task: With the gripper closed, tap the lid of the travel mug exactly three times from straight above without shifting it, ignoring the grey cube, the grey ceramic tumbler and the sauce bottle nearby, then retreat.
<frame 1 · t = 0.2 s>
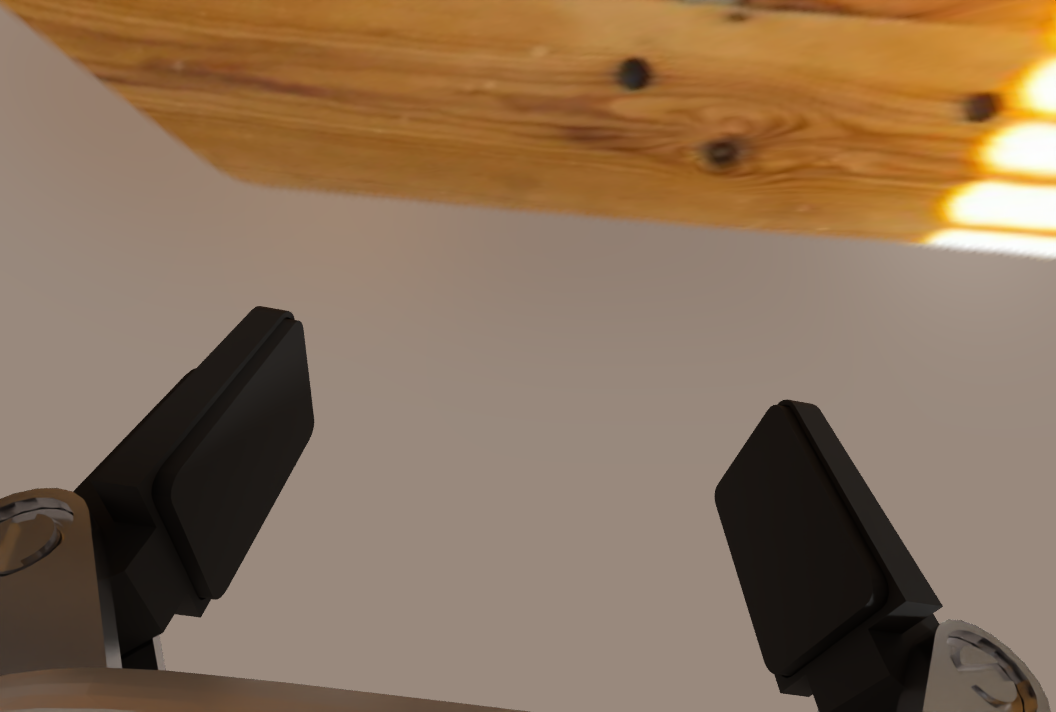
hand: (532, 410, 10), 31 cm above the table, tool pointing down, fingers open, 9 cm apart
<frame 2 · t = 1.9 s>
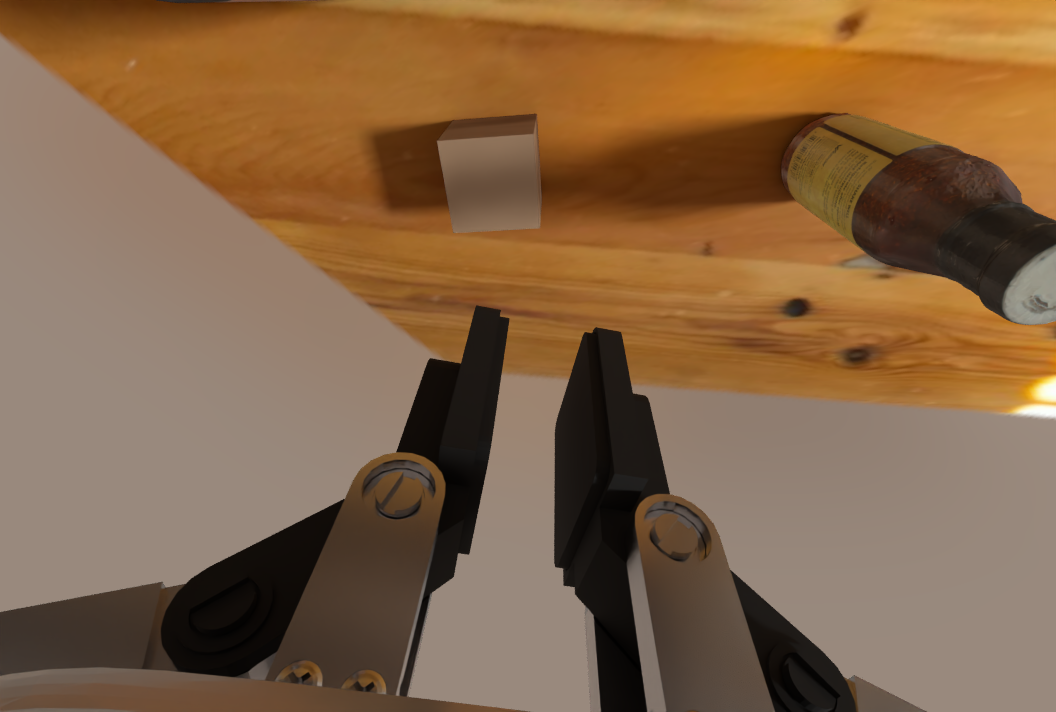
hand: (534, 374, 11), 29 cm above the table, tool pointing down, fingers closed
grey cube: (499, 160, 36), on the table
sauce bottle: (823, 154, 35), on the table
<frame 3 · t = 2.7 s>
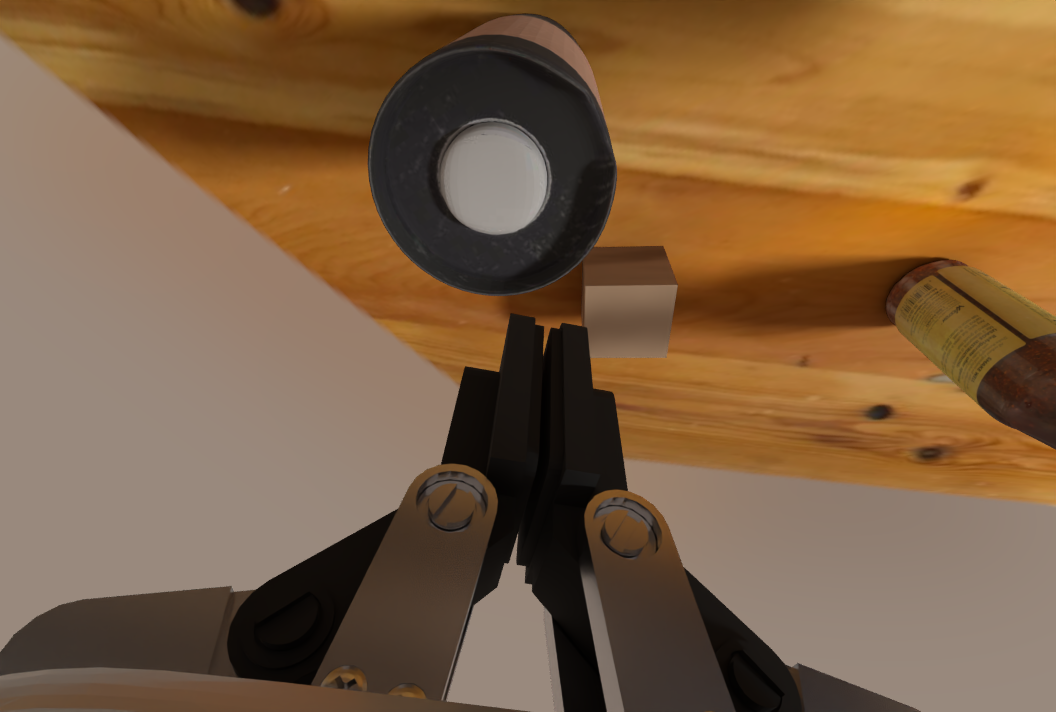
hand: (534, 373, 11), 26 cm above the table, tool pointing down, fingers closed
grey cube: (620, 281, 38), on the table
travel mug: (529, 82, 30), on the table
sauce bottle: (927, 289, 37), on the table
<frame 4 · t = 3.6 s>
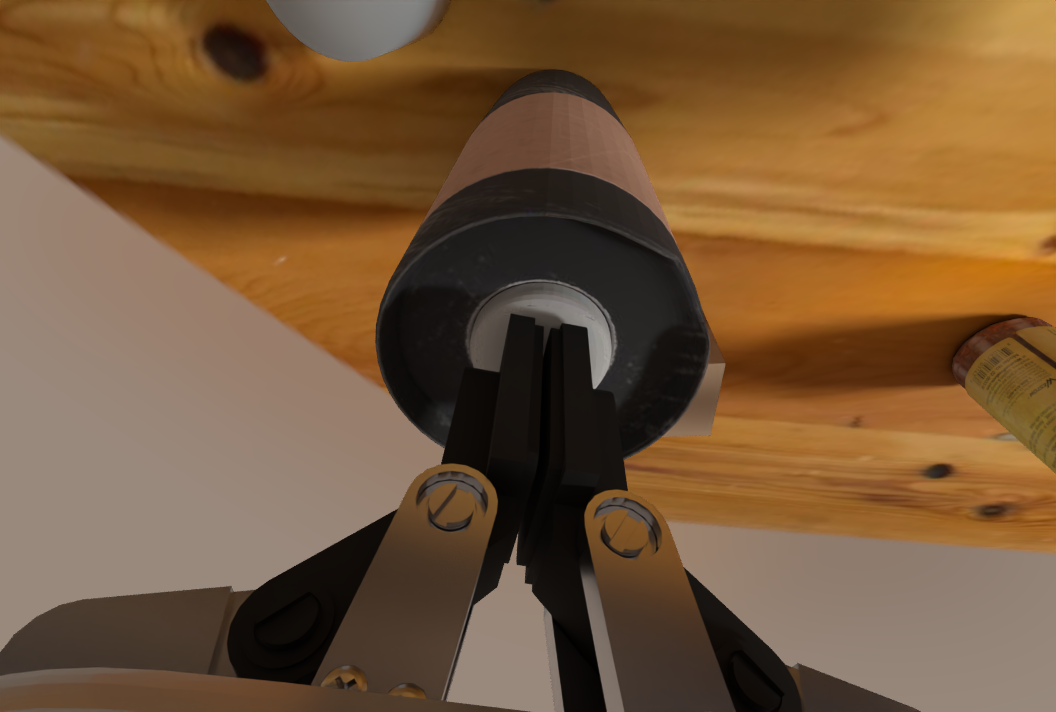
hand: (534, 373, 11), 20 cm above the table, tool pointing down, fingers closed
grey cube: (652, 345, 35), on the table
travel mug: (551, 142, 27), on the table, touching gripper
sauce bottle: (998, 347, 33), on the table
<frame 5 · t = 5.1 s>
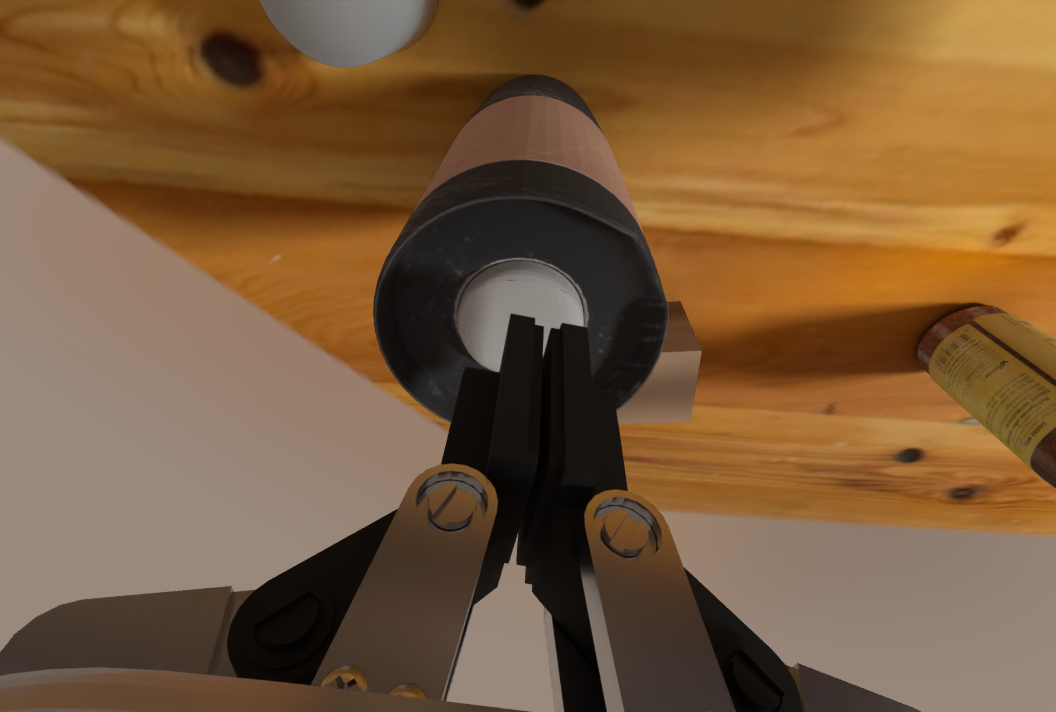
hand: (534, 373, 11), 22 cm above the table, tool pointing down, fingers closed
grey cube: (635, 337, 36), on the table
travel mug: (534, 143, 28), on the table
sauce bottle: (959, 334, 35), on the table
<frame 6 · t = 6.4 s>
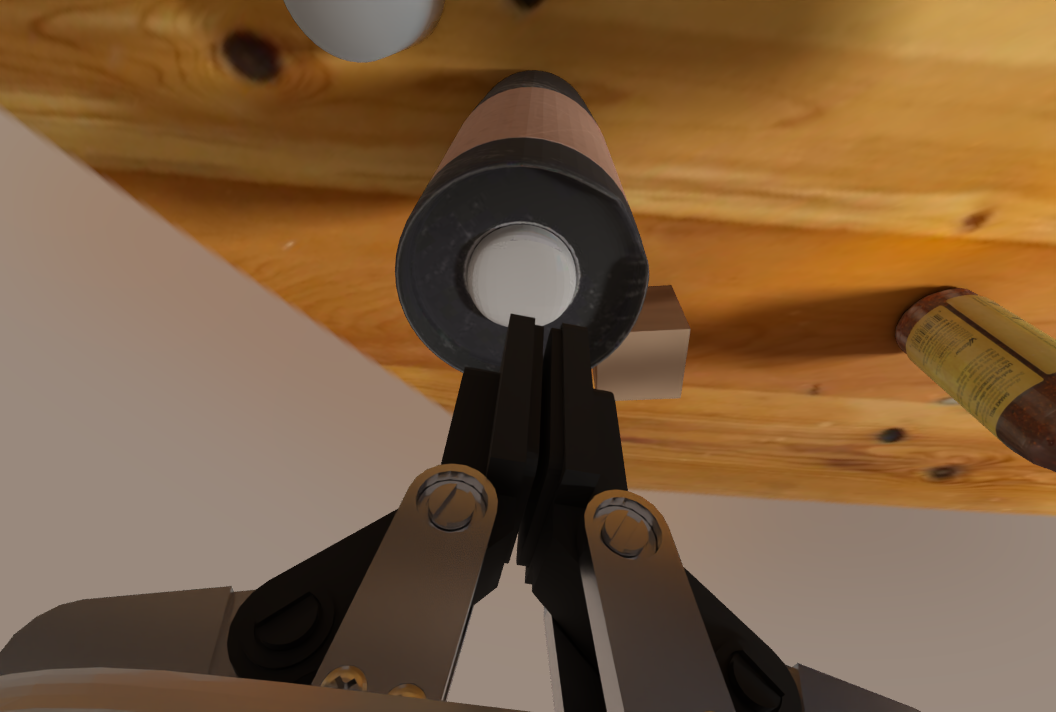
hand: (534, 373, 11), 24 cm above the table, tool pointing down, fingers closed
grey cube: (628, 320, 38), on the table
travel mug: (533, 134, 30), on the table
sauce bottle: (935, 316, 37), on the table
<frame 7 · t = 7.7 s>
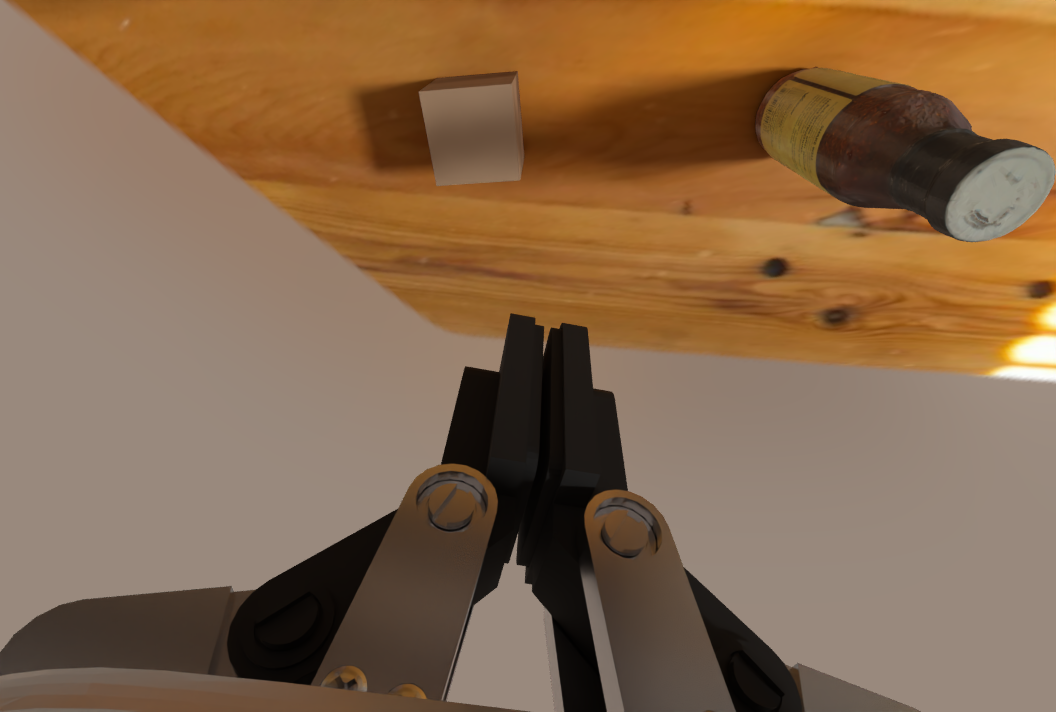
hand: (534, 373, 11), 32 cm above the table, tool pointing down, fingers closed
grey cube: (482, 119, 37), on the table
sauce bottle: (796, 110, 36), on the table
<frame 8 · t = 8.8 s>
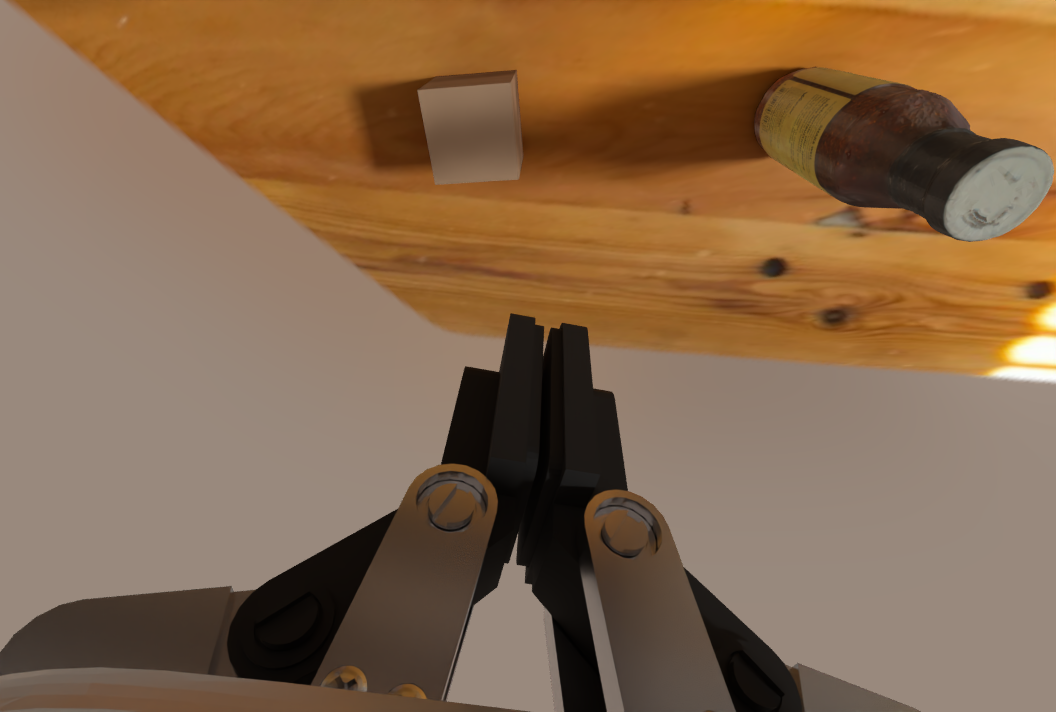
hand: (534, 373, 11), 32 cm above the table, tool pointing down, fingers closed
grey cube: (481, 117, 37), on the table
sauce bottle: (795, 110, 36), on the table
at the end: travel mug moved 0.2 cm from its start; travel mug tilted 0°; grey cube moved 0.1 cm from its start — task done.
